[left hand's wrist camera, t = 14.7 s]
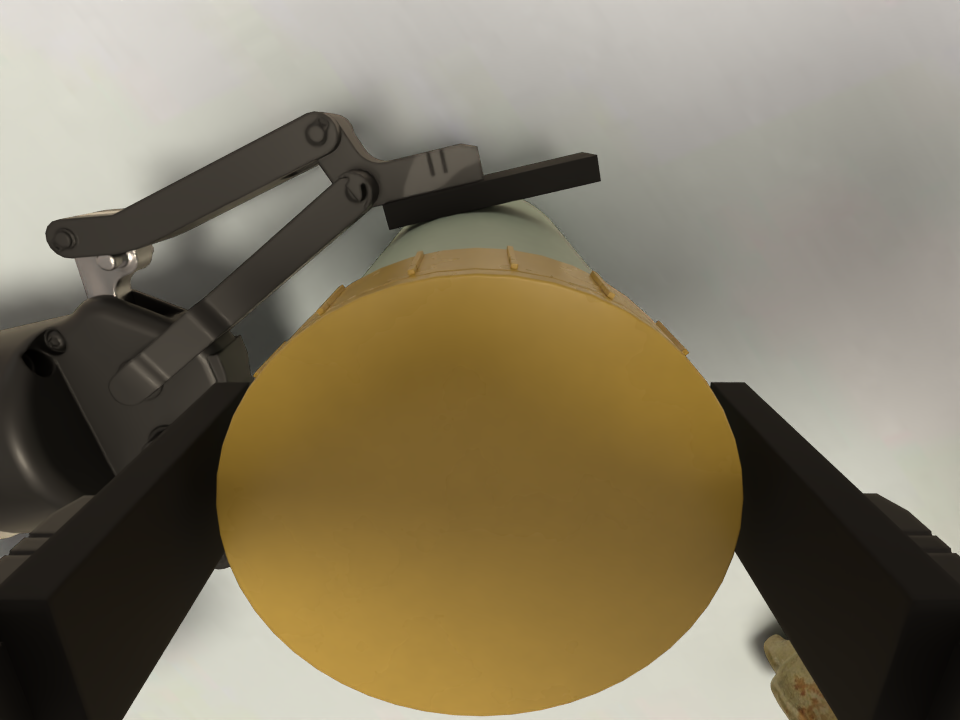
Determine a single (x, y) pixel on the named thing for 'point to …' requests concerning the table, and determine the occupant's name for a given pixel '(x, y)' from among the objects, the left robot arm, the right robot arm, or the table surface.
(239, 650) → the table surface
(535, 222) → the jar
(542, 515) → the lid
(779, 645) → the sculpture
